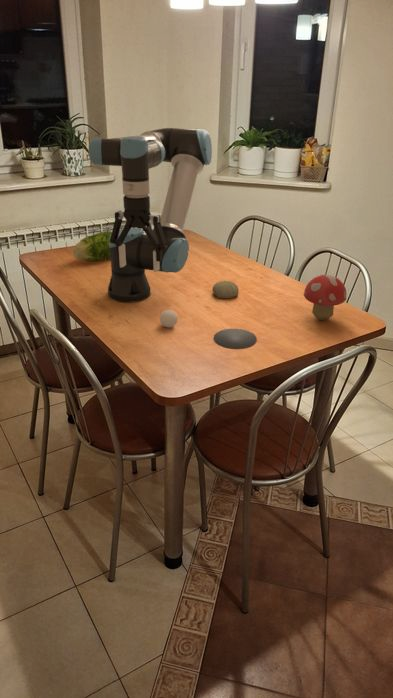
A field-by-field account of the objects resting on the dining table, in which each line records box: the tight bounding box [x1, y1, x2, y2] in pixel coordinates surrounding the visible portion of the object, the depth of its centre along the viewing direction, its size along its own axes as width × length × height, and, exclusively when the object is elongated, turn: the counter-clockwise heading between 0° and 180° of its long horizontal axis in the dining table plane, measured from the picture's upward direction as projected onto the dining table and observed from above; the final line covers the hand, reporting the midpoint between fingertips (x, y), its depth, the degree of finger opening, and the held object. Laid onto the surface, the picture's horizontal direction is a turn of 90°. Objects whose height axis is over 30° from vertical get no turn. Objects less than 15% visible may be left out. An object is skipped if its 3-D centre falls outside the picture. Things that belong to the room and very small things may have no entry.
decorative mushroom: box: [303, 274, 347, 321], centre depth 169 cm, size 13×13×15 cm
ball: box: [159, 309, 178, 328], centre depth 166 cm, size 6×6×6 cm
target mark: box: [213, 328, 258, 350], centre depth 160 cm, size 13×13×1 cm
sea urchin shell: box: [212, 280, 239, 299], centre depth 190 cm, size 9×8×8 cm
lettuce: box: [72, 230, 112, 262], centre depth 220 cm, size 12×21×11 cm, turn 129°
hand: (139, 268), depth 161 cm, fingers open, 11 cm apart
